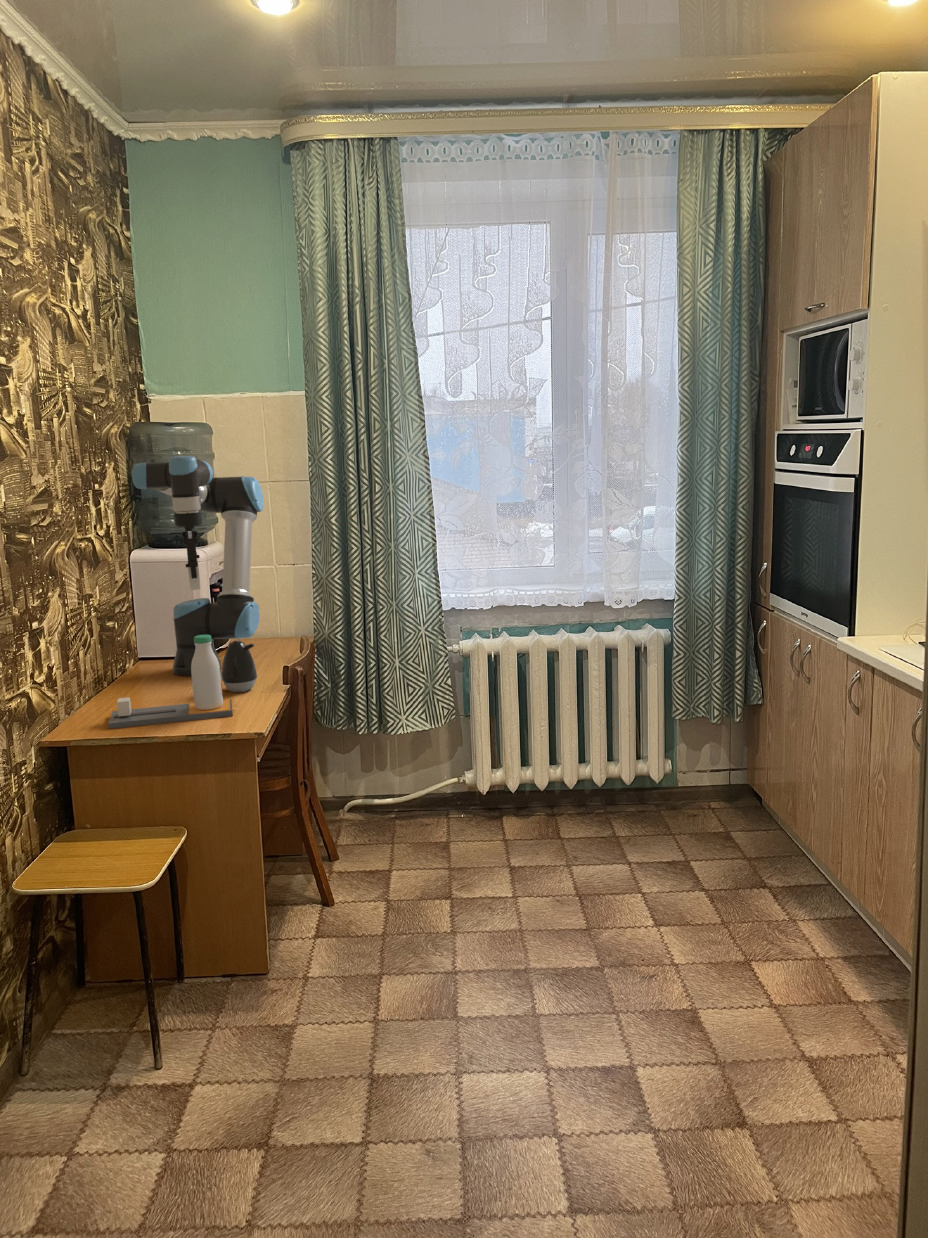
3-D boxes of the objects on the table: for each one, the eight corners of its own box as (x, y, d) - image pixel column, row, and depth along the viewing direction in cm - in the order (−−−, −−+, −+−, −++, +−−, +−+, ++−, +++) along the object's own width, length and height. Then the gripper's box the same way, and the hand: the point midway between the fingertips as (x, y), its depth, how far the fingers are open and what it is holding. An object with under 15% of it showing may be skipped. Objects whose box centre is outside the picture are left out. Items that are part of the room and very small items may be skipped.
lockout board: (113, 716, 268) (112, 710, 268) (231, 704, 275) (231, 698, 275) (108, 728, 256) (108, 722, 256) (232, 715, 264) (232, 709, 264)
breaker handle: (119, 712, 264) (118, 698, 263) (131, 711, 265) (129, 697, 264) (118, 716, 260) (116, 702, 260) (130, 715, 261) (128, 701, 260)
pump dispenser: (250, 695, 285) (246, 644, 282) (217, 694, 287) (212, 644, 284) (264, 686, 294) (260, 637, 291) (232, 685, 296) (228, 636, 293)
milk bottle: (222, 709, 265) (215, 637, 261) (193, 711, 263) (186, 639, 259) (224, 701, 272) (217, 632, 268) (196, 704, 271) (188, 634, 267)
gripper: (201, 515, 264) (209, 591, 268) (200, 506, 287) (207, 576, 292) (173, 517, 262) (181, 594, 266) (174, 508, 285) (181, 579, 290)
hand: (195, 585), depth 279 cm, fingers open, 13 cm apart
